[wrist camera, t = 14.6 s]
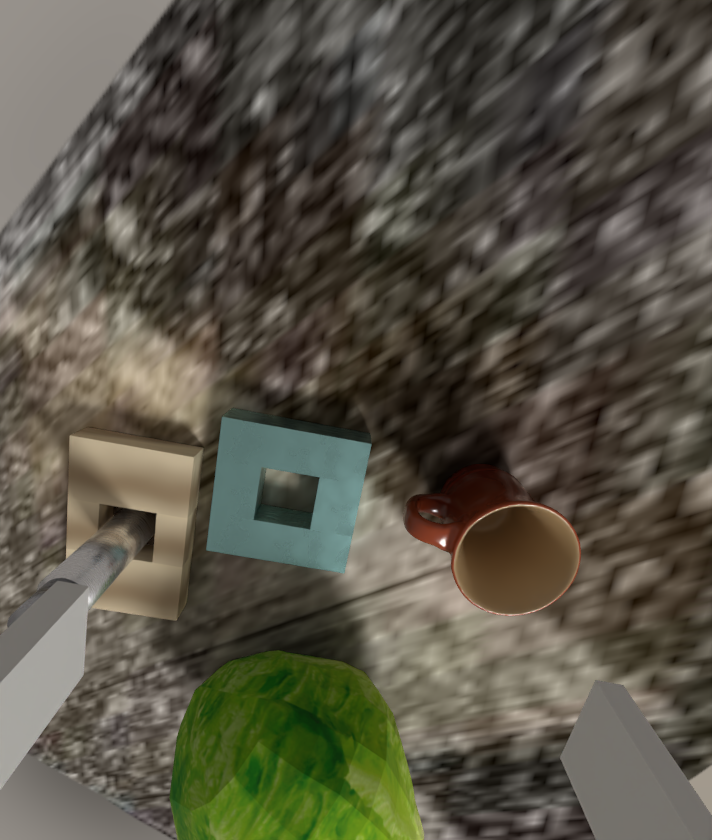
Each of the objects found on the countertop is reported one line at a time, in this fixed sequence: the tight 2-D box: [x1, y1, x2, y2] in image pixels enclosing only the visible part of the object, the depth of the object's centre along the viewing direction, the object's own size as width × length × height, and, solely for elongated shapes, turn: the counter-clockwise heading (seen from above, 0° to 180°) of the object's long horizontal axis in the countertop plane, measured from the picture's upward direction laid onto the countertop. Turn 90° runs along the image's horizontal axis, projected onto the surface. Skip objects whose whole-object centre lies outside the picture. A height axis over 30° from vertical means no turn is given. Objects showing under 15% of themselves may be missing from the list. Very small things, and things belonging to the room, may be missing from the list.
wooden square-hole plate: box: [66, 427, 204, 621], centre depth 39 cm, size 16×10×2 cm, turn 169°
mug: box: [403, 464, 581, 616], centre depth 35 cm, size 12×9×10 cm
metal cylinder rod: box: [7, 508, 157, 627], centre depth 34 cm, size 4×4×14 cm
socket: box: [206, 408, 371, 573], centre depth 38 cm, size 12×12×3 cm
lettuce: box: [170, 650, 424, 840], centre depth 37 cm, size 19×25×17 cm
